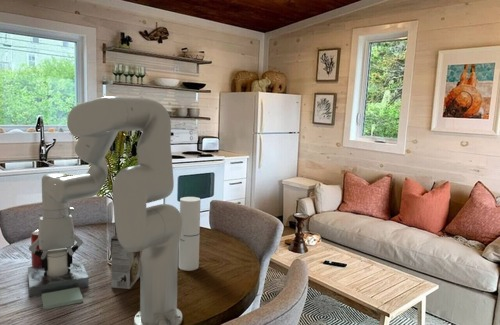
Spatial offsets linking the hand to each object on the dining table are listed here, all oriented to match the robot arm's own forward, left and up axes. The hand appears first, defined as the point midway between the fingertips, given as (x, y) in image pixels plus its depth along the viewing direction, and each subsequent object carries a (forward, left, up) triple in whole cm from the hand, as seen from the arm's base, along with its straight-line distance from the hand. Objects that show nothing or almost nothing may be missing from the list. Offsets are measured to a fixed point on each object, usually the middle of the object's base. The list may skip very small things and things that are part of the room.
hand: (57, 267), depth 122 cm
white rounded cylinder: (0, 0, -5) cm, 5 cm away
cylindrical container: (-7, -42, -5) cm, 43 cm away
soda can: (+16, +3, -5) cm, 17 cm away
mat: (-14, 0, -5) cm, 14 cm away
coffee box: (-10, -19, -5) cm, 22 cm away
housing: (0, 0, -5) cm, 5 cm away
